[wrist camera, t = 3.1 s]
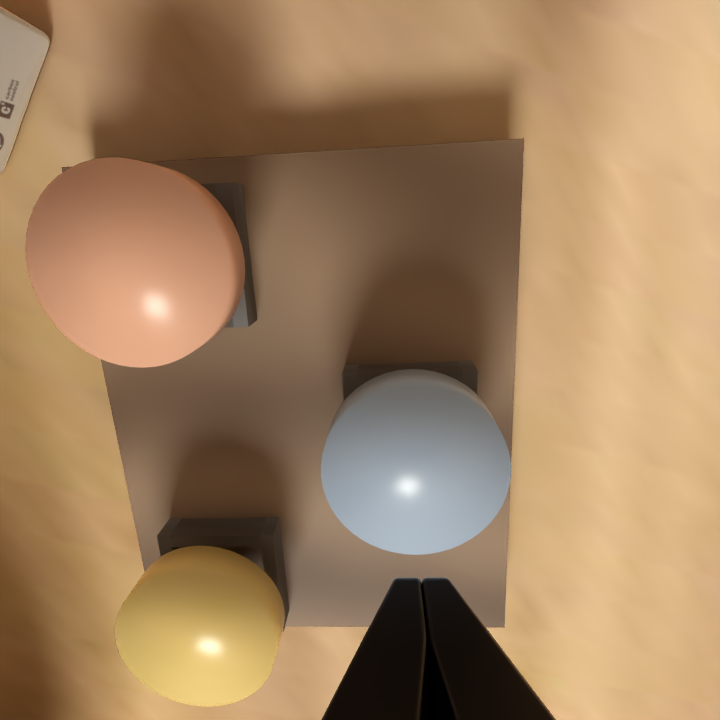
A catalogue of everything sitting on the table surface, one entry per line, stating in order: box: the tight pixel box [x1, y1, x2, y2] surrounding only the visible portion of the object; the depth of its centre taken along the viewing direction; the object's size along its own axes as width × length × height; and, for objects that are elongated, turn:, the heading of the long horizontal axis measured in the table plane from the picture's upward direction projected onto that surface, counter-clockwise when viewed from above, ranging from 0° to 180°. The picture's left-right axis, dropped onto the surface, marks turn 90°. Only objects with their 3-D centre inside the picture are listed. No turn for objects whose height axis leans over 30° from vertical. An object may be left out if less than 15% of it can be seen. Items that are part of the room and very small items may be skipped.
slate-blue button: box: [321, 369, 511, 555], centre depth 12 cm, size 4×4×2 cm
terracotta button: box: [26, 157, 245, 368], centre depth 11 cm, size 4×4×2 cm
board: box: [62, 138, 524, 631], centre depth 15 cm, size 15×12×2 cm
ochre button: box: [115, 546, 285, 706], centre depth 14 cm, size 4×4×2 cm
